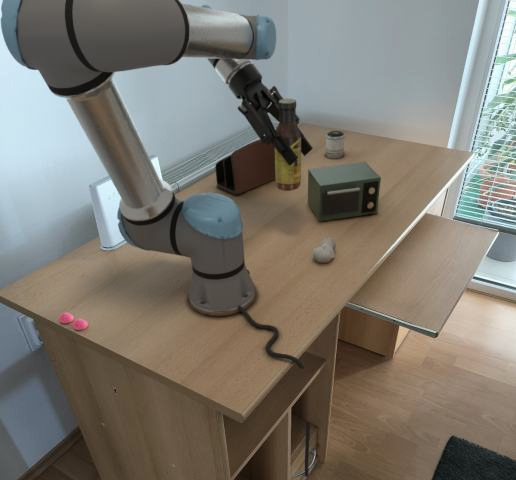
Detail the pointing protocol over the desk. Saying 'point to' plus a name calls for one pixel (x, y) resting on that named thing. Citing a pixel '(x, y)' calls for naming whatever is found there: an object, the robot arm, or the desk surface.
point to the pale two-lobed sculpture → (325, 251)
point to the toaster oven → (343, 191)
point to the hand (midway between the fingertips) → (301, 156)
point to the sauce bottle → (288, 128)
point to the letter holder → (246, 168)
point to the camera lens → (335, 144)
